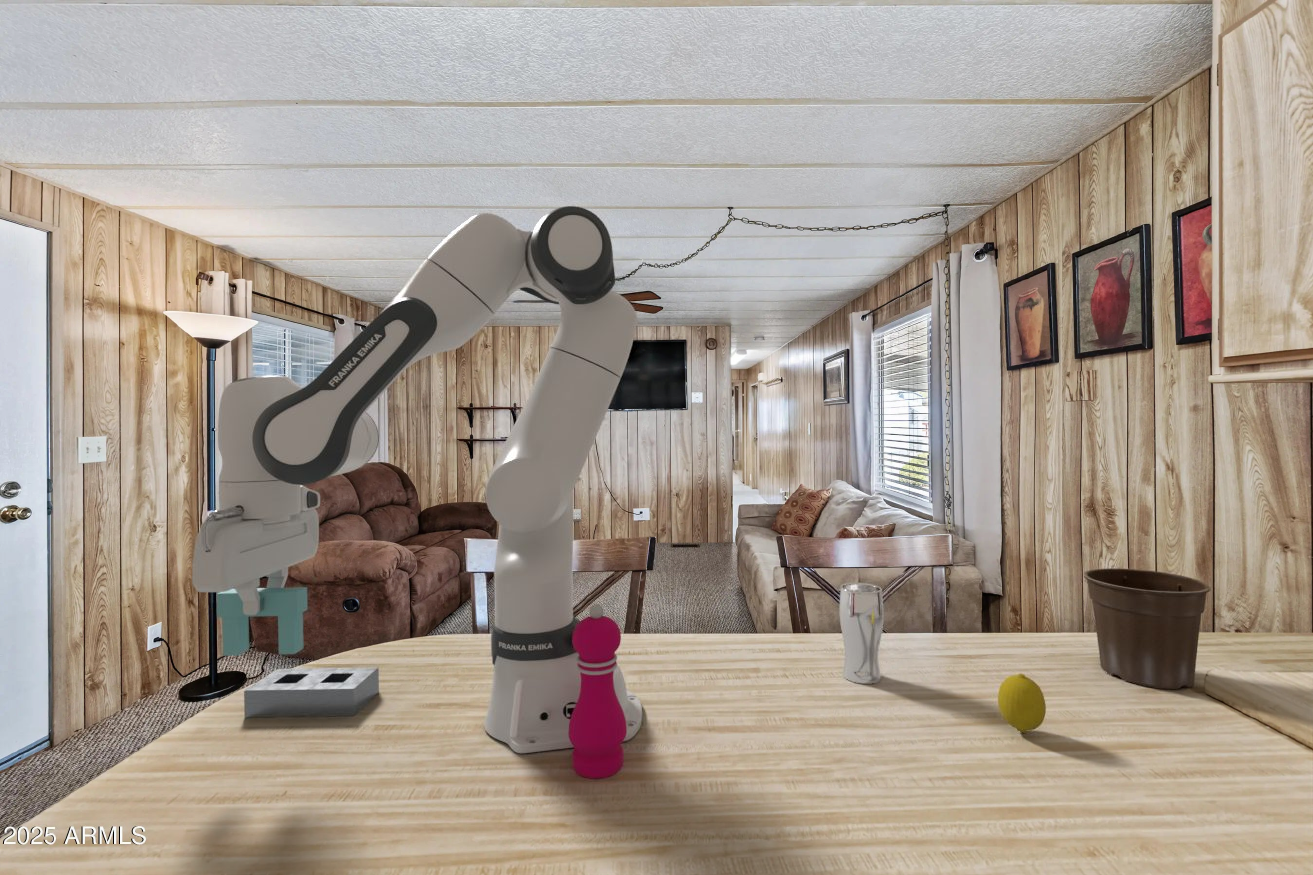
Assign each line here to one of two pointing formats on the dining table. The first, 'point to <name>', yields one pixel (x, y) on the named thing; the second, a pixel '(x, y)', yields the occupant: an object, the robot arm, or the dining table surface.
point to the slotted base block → (312, 692)
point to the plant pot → (1147, 624)
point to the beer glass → (861, 631)
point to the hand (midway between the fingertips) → (263, 608)
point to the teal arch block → (276, 603)
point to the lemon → (1021, 702)
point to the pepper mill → (597, 698)
